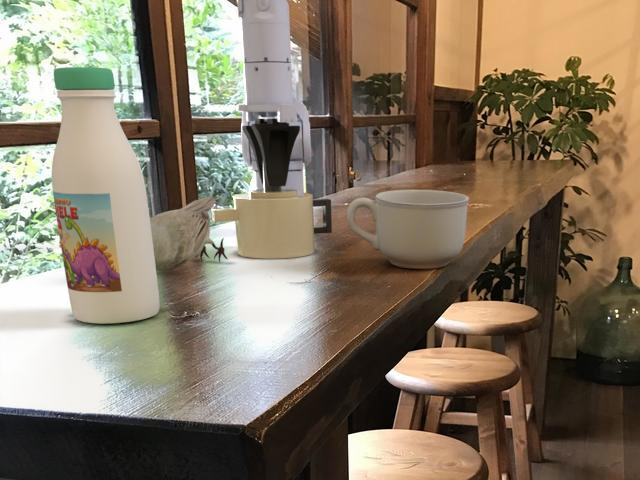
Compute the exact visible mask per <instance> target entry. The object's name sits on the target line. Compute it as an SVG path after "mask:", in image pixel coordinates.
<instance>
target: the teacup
mask: <svg viewBox="0 0 640 480" xmlns="http://www.w3.org/2000/svg"><path fill="white" fill-rule="evenodd" d="M374 198H375V201H374V200H372V199H370V198H368V197H358V198H356V199H353V200H352V201H351V202H350V204H349V205H348V207H347V209H346V222H347V225H348V226H349V228H350V229H351V230H352V232H353V233H355V235H357V236H358V237H359V238H361V239H362V240H364V241H366V242H367V243H369V244H370V246H371V248H372V249H373V250H375V251H379V252H380V253H381V254H382V255H383V256H384V257H385V258H386V259H387V260H388V262H389V263H390V264H391V265H393V266H394V267H395V266H396V267H399V268H402V269H408V270H433V269H441V268H443V267H446V266H448V264H450V262H451V261H452V260H454V259H455V258H456V257H457V256H458V255H459V254H460V253H461V251H462V250H463V247H464V244H465V238H466V231H467V230H466V228H467V217H468V204H469V201H470V197H469V196H468V195H465V194H463V193H458V192H453V191H447V190H437V189H436V190H435V189H394V190H387V191H381V192H378V193H377V194H376V195H375V197H374ZM361 207H364V208H367V209H368V210H369V211H370V214H371V217H372V220H373V221H374V222H375V234H373V233H372V232H369V231H367V230H365V229H363V228H362V227H361V226H360V225H359V224H358V222H357V220H356V213H357V211H358V209H359V208H361Z"/></svg>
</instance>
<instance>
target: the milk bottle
mask: <svg viewBox="0 0 640 480" xmlns="http://www.w3.org/2000/svg"><path fill="white" fill-rule="evenodd" d="M53 80H54V81H53V82H54V86H55V89H56V98H58V99H59V101H60V105H61V119H60V120H61V121H60V126H59V127H60V128H59V133H58V137H57V140H56V146H55V149H54V153H53V157H52V162H51V164H52V165H51V186H52V196H53V203H54V204H53V205H54V210H55V211H54V212H55V217H56V224H57V230H58V236H59V243H60V249H61V250H60V251H61V254H62V261H63V268H64V273H65V280H66V286H67V291H68V298H69V303H70V309H71V313H72V315H73V317H74V318H75V319H76V320H78V321H79V322H83V323H87V324H120V323H121V324H122V323H130V322H137V321H141V320H145V319H148V318H151V317H154V316H155V315H157V314H158V313H159V312H160V308H161V304H160V292H159V285H158V276H157V275H158V274H157V271H156V266H155V258H154V249H153V241H152V233H151V225H150V218H151V217H150V210H149V201H148V195H147V189H146V184H145V179H144V174H143V170H142V167H141V163H140V161H139V159H138V156H137V154H136V152H135V151H134V149H133V147H132V145H131V144H130V141H129V140H128V138H127V135H126V134H125V132H124V130H123V127H122V125H121V123H120V120H119V118H118V115H117V112H116V108H115V98H117V96H116V93H115V88H116V87H115V86H116V85H115V78H114V73H113V70H112V69H111V68H106V67H97V66H96V67H95V66H93V67H91V66H84V67H83V66H71V67H70V66H69V67H67V66H66V67H57V68H55V69H54V70H53Z"/></svg>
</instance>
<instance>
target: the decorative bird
mask: <svg viewBox="0 0 640 480" xmlns="http://www.w3.org/2000/svg"><path fill="white" fill-rule="evenodd" d="M216 204H217V200H215V199H214V198H213V197H212V196H206V197H202V198H199V199H195V200H193V201H191V202H190V203H188V204H186V205H185V206H183V207H181V208H179V209H178V208H177V209H173V210H167V211H163V212H161V213H158V214H156V215H153V216H152V217H150V225H151V233H152V241H153V249H154V258H155V266H156V272H166V271H167V272H168V271H171V270H174V269H177V268H179V267H181V266H183V265H185V264H187V263H189V262H190V261H191V260H193V259H194V258H197V257H198V256H199V257H200V258H199V259H200V261H201V262H202V261H203V255H205V257H207V258H208V259H210V256H209V254H208V253H207V246H206V245H211V246H212V248H214V249H215V250H217V251H216V253H215V254H214V256H213V260H215V259H216V257H217V256H218V262H219V263H221V257H224V259H226V260H227V261H228V257H227V256H226V254H225V247H224V239H225V238H224V237H222V239H221V241H220V244H219V247H218V246H216V244H215V243H214V241H213V239H211V238H210V234H211V228H210V215H209V213H208V212H210V211H211V209H213V208H214V206H215V205H216Z"/></svg>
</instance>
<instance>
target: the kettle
mask: <svg viewBox="0 0 640 480" xmlns="http://www.w3.org/2000/svg"><path fill="white" fill-rule="evenodd" d="M263 177H264V189H255V190H250V189H249V191H248V192H247V193H239V194H235V195H233V196H232V198H233V207H227V208H211V209H210V213H211V221H212V222H214V223H225V222H226V223H227V222H235V223H234V224H235V225H234V226H235V236H236V250H237V255H239V256H240V257H243V258H250V259H263V260H272V259H273V260H275V259H276V260H277V259H278V260H279V259H281V260H282V259H293V258H301V257H306V256H310V255H313V254H314V253H315V251H316V248H315V245H316V244H315V235H318V234H332V232H333V224H332V223H333V222H332V220H333V219H332V199H331V198H318V199H314V195H313V194H312V193H308V192H304V193H302V192H297V190H295V189H286V188H282V186H275V187H270V186H268V183H267V179H266V175H265V169H264V163H263ZM315 207H322V226H321V225H320V226H319V225H318V226H315V224H314V223H315V218H314V215H315V214H314V208H315Z"/></svg>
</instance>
